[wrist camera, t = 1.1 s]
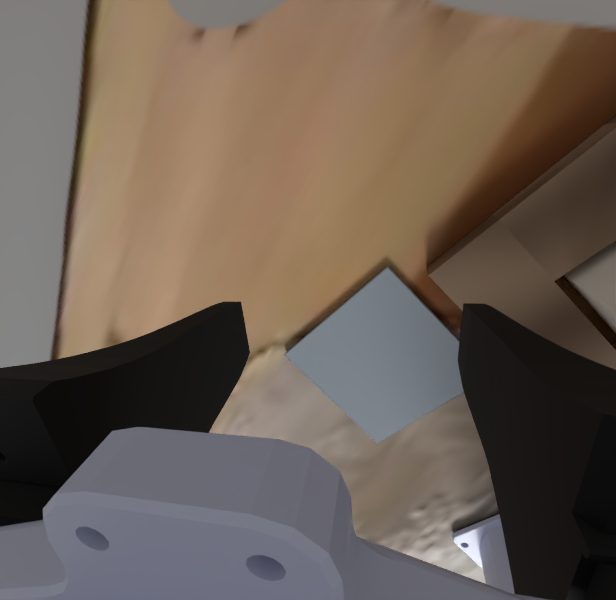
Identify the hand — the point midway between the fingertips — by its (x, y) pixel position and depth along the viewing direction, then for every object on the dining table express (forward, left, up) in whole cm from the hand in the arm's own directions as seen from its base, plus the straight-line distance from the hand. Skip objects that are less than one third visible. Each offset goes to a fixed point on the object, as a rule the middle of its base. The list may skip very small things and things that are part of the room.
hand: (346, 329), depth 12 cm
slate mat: (-6, +4, -10) cm, 12 cm away
